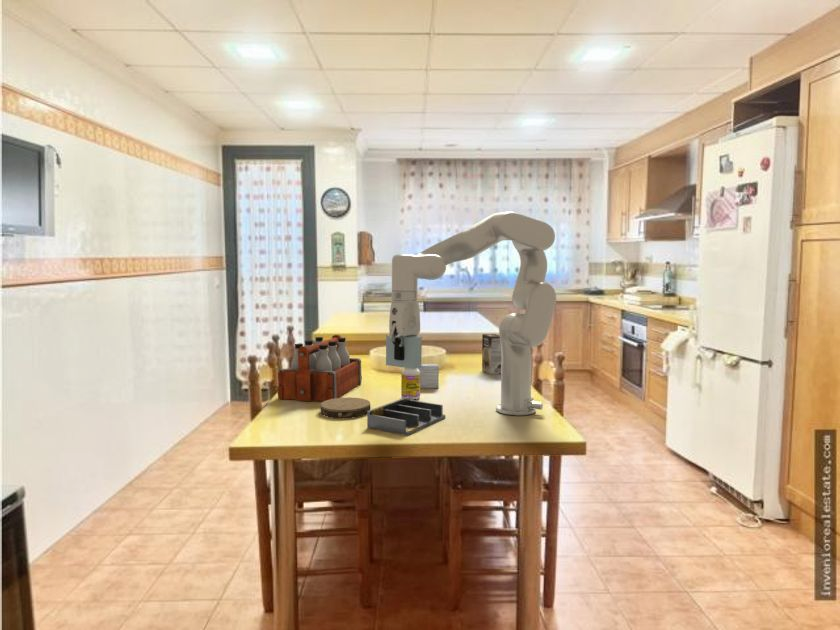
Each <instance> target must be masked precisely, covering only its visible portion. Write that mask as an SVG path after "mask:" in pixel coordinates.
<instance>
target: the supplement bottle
mask: <svg viewBox="0 0 840 630" xmlns="http://www.w3.org/2000/svg"><path fill="white" fill-rule="evenodd" d="M400 373H401V376H400V377H401V380H400V381H401V384H400V385H401V388H400V389H401V392H400V393H401V397H400V398H401V399H402V398H405V397H407V396H409V397H410V400H414V399H416V400H419V399H420V398H421V388H420V370H418V368H415V369H411V368H403V369H402V370H401V372H400Z"/></svg>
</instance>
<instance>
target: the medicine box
mask: <svg viewBox="0 0 840 630" xmlns="http://www.w3.org/2000/svg"><path fill="white" fill-rule="evenodd" d="M417 369H418V370H420V389H439V385H440V384H439V381H440V380H439V374H440V373H439V372H440V371H439V364H437V363H425V364H424V363H421V367H419V368H417Z"/></svg>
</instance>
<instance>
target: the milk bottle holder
mask: <svg viewBox="0 0 840 630" xmlns="http://www.w3.org/2000/svg"><path fill="white" fill-rule="evenodd" d="M314 338H315V339H314V340H315V341H313V340H311V339H310V340H309V339H307V340H305V341H304V343H294V348H293V350H294V356H293V358H292V360H291V362H290V367H289V368H280V369H279V370H278V372H277V381H278V383H277V384H278V386H277V391H276V392H277V399H279V400H295V401H299V402H311V401H313V402H314V401H316V402H324V401H326V400H330V399H335V398H341V396H343V395H345V394H346V393H348V392H350V391H351V390H353V389H355V388H356V387H357V386H358V385H359V386H361V384H362V379H363V377H362V359H361V358H360V357H359V358H357V357H350V353H349V351H348V349H347V347H346V346H347V341H346V339H347V338H346V337H342V336H341V335H340V334H333V335H332V336H331V338H329V339H327V340H324V337H323V336H315V337H314ZM359 386H358V387H359Z"/></svg>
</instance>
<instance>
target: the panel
mask: <svg viewBox="0 0 840 630" xmlns="http://www.w3.org/2000/svg"><path fill="white" fill-rule="evenodd" d="M388 336H389V334H386V335H385V366H389V367H397V368H398V367H399V368H403V369H405V368H411V369H415V368H417V369H418V368H419V367H421V364H422V352H423V351H422V349H423V348H422V346H423V345H422V344H423V340H422V339H423V337H422V336H421V335H420V336H419V335H417V336H406V337H404V340H403V346H402V347H404V360H395V359H394V346H393V342H392V341H391V340H390V339H389V338H388ZM398 336H401V335H398ZM398 339H399V341H400V338H398Z"/></svg>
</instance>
